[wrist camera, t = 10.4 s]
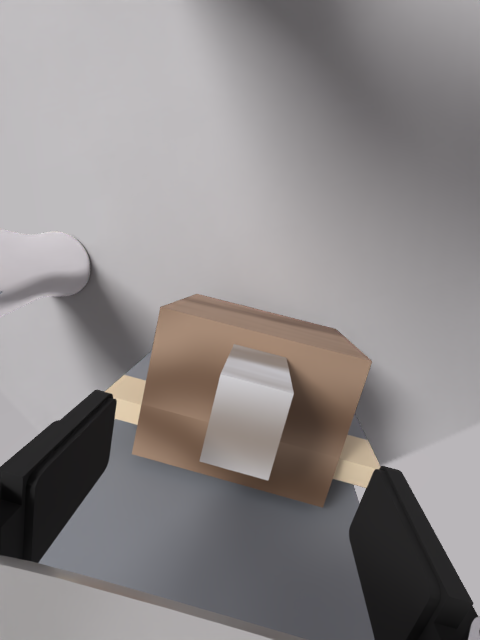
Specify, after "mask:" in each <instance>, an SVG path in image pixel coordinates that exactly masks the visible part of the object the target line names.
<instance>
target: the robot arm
mask: <svg viewBox="0 0 480 640" xmlns="http://www.w3.org/2000/svg"><path fill="white" fill-rule="evenodd" d="M116 404H117V400H116V399H113V394H111V393H107V392H104V391H100V390H95V391H94V392H92V393H91V394H90V395H89V396H88V397H87V398H85V399H84V400H83V401H82V402H81V403H80V404H78V405H77V406H76V407H75V408H74V409H73V410H71V411H70V412H69V413H68V414H67V415H66V416H64V417H63V418H62V419H61V420H60V421H59V420H58V421H55V422H53V423H52V424H51V425H49V426H48V427H47V428H46V429H45V430H43V431H42V432H41V433H40V434H39V435H38V436H36V437H35V438H34V439H33V440H32V441H31V442H30V443H28V444H27V445H26V446H25V447H23V448H22V449H21V450H20V451H19V452H17V453H16V454H15V455H14V456H13V457H11V459H9V460H8V461H7V462H5V463H4V464H3V465H2V466H1V467H0V640H306V639H303V638H300V637H296V636H293V635H290V634H286V633H283V632H280V631H276V630H273V629H269V628H266V627H263V626H259V625H256V624H252V623H249V622H245V621H242V620H239V619H235V618H232V617H228V616H225V615H222V614H218V613H215V612H211V611H208V610H204V609H201V608H197V607H194V606H191V605H187V604H184V603H180V602H177V601H173V600H170V599H166V598H163V597H159V596H156V595H152V594H149V593H145V592H142V591H138V590H135V589H131V588H128V587H124V586H121V585H117V584H113V583H110V582H106V581H103V580H99V579H96V578H92V577H89V576H85V575H81V574H78V573H74V572H70V571H66V570H62V569H59V568H55V567H51V566H47V565H43V564H39V561H40V560H41V558H42V557H43V556H44V554H45V553H46V552H47V550H48V549H49V547H50V546H51V545H52V543H53V542H54V540H55V539H56V538H57V536H58V535H59V534H60V532H61V531H62V529H63V528H64V527H65V525H66V524H67V522H68V521H69V520H70V518H71V517H72V515H73V514H74V513H75V511H76V510H77V509H78V507H79V506H80V504H81V503H82V502H83V500H84V499H85V497H86V496H87V495H88V493H89V492H90V491H91V489H92V488H93V486H94V485H95V484H96V482H97V481H98V479H99V478H100V477H101V475H102V474H103V472H104V471H105V469H106V467H107V465H108V462H109V457H110V449H111V442H112V434H113V427H114V419H115V412H116ZM349 540H350V544H351V548H352V552H353V555H354V559H355V563H356V567H357V571H358V575H359V579H360V583H361V587H362V591H363V595H364V599H365V603H366V607H367V611H368V615H369V619H370V623H371V627H372V631H373V635H374V639H375V640H480V617H478V615H477V614H476V612H475V610H474V608H473V606H472V605H473V602H472V600H471V598H470V596H469V594H468V593H467V591H466V589H465V587H464V585H463V583H462V582H461V580H460V578H459V576H458V574H457V572H456V571H455V569H454V567H453V565H452V563H451V562H450V560H449V558H448V556H447V554H446V552H445V551H444V549H443V547H442V545H441V543H440V541H439V540H438V538H437V536H436V534H435V533H434V530H433V529H432V527H431V525H430V523H429V521H428V520H427V518H426V516H425V514H424V512H423V510H422V509H421V507H420V505H419V503H418V501H417V499H416V498H415V496H414V494H413V492H412V490H411V488H410V487H409V485H408V483H407V481H406V479H405V477H404V476H403V474H402V472H401V471H399V470H396V469H392V468H388V467H385V466H381V467H380V468H379V469H375V470H374V472H373V474H372V476H371V479H370V481H369V483H368V486H367V488H366V490H365V493H364V495H363V497H362V500H361V502H360V504H359V506H358V509H357V511H356V513H355V516H354V518H353V520H352V523H351V525H350V528H349Z"/></svg>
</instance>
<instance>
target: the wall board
mask: <svg viewBox="0 0 480 640" xmlns="http://www.w3.org/2000/svg"><path fill="white" fill-rule="evenodd" d="M151 353H152V351H151V352H150V353H149V354H147V355H146V356H145V357H144V358H143V359H142V360H140V361H139V362H138V363H137V364H136V365H135V366H134V367H132V368H131V369H130V370H129V371H128V372H127V373H126V374H124V375H123V376H122V377H121V378H120V379H119V380H118V381H116V382H115V383H114V384H113V385H112V386H111V387H109V388H108V389H107V390H106V391H105V392H107V393H111V394H113V399H116V400H117V404H116V412H115V420H114V427H113V434H112V442H111V449H110V457H109V462H108V465H107V467H106V469H105V471H104V472H103V474H102V475H101V477H100V478H99V479H98V481H97V482H96V484H95V485H94V486H93V488H92V489H91V491H90V492H89V493H88V495H87V496H86V497H85V499H84V500H83V502H82V503H81V504H80V506H79V507H78V509H77V510H76V511H75V513H74V514H73V515H72V517H71V518H70V520H69V521H68V522H67V524H66V525H65V527H64V528H63V529H62V531H61V532H60V534H59V535H58V536H57V538H56V539H55V540H54V542H53V543H52V545H51V546H50V547H49V549H48V550H47V552H46V553H45V554H44V556H43V557H42V558H41V560H40V561H39V564H43V565H47V566H51V567H55V568H59V569H62V570H66V571H70V572H74V573H78V574H81V575H85V576H89V577H92V578H96V579H99V580H103V581H106V582H110V583H113V584H117V585H121V586H124V587H128V588H131V589H135V590H138V591H142V592H145V593H149V594H152V595H156V596H159V597H163V598H166V599H170V600H173V601H177V602H180V603H184V604H187V605H191V606H194V607H197V608H201V609H204V610H208V611H211V612H215V613H218V614H222V615H225V616H228V617H232V618H235V619H239V620H242V621H245V622H249V623H252V624H256V625H259V626H263V627H266V628H269V629H273V630H276V631H280V632H283V633H286V634H290V635H293V636H296V637H300V638H303V639H306V640H375V639H374V635H373V631H372V627H371V623H370V619H369V615H368V611H367V607H366V603H365V599H364V595H363V591H362V587H361V583H360V579H359V575H358V571H357V567H356V563H355V559H354V555H353V552H352V548H351V544H350V540H349V528H350V525H351V523H352V520H353V518H354V516H355V513H356V511H357V509H358V506H359V501H358V498H357V495H356V492H355V489H354V485H357V486H361V487H364V488H367V486H368V483H369V481H370V479H371V476H372V474H373V472H374V470H375V469H379V468H380V465H379V463H378V460H377V458H376V456H375V454H374V452H373V450H372V448H371V446H370V444H369V442H368V440H367V437H366V435H365V433H364V431H363V429H362V427H361V425H360V423H359V421H358V419H357V417H356V414H354V417H353V420H352V423H351V426H350V429H349V432H348V435H347V438H346V441H345V444H344V446H343V449H342V452H341V455H340V458H339V461H338V464H337V467H336V470H335V473H334V476H333V479H332V482H331V485H330V488H329V491H328V494H327V497H326V500H325V503H324V506H323V508H322V507H318V506H315V505H311V504H308V503H304V502H301V501H297V500H293V499H290V498H286V497H283V496H279V495H276V494H272V493H269V492H265V491H261V490H258V489H254V488H251V487H247V486H244V485H240V484H237V483H233V482H229V481H226V480H222V479H219V478H215V477H212V476H208V475H205V474H201V473H197V472H194V471H190V470H187V469H183V468H180V467H176V466H172V465H169V464H165V463H162V462H158V461H155V460H151V459H148V458H144V457H140V456H137V455H133V454H132V450H133V445H134V440H135V435H136V430H137V424H138V419H139V414H140V409H141V404H142V399H143V394H144V389H145V384H146V378H147V373H148V368H149V363H150V358H151ZM353 484H354V485H353Z"/></svg>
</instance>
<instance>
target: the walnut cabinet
mask: <svg viewBox="0 0 480 640" xmlns="http://www.w3.org/2000/svg"><path fill="white" fill-rule="evenodd" d="M371 363H372V361H371V360H370V359H369V358H368V357H367V356H366V355H365V354H363V353H362V352H361V351H360V350H359V349H358V348H357V347H356V346H354V345H353V344H352V343H351V342H350V341H349V340H348V339H347V338H345V337H344V336H343V335H342V334H341V333H340V332H339V331H338V330H336V329H334V328H330V327H326V326H322V325H318V324H314V323H310V322H306V321H302V320H298V319H294V318H290V317H286V316H282V315H278V314H274V313H270V312H266V311H262V310H258V309H254V308H251V307H247V306H243V305H239V304H235V303H231V302H227V301H223V300H219V299H215V298H211V297H207V296H203V295H199V294H195V295H193V296H190V297H187V298H184V299H181V300H179V301H176V302H173V303H170V304H167V305H165V306H162V307H160V312H159V317H158V322H157V327H156V332H155V338H154V343H153V348H152V353H151V358H150V363H149V368H148V373H147V378H146V384H145V389H144V394H143V399H142V404H141V409H140V414H139V419H138V424H137V430H136V435H135V440H134V445H133V450H132V454H133V455H137V456H140V457H144V458H148V459H151V460H155V461H158V462H162V463H165V464H169V465H172V466H176V467H180V468H183V469H187V470H190V471H194V472H197V473H201V474H205V475H208V476H212V477H215V478H219V479H222V480H226V481H229V482H233V483H237V484H240V485H244V486H247V487H251V488H254V489H258V490H261V491H265V492H269V493H272V494H276V495H279V496H283V497H286V498H290V499H293V500H297V501H301V502H304V503H308V504H311V505H315V506H318V507H322V508H323V506H324V503H325V500H326V497H327V494H328V491H329V488H330V485H331V482H332V479H333V476H334V473H335V470H336V467H337V464H338V461H339V458H340V455H341V452H342V449H343V446H344V444H345V441H346V438H347V435H348V432H349V429H350V426H351V423H352V420H353V417H354V414H355V411H356V408H357V405H358V402H359V399H360V396H361V393H362V390H363V387H364V384H365V381H366V378H367V375H368V372H369V369H370V366H371Z"/></svg>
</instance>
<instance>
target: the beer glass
mask: <svg viewBox="0 0 480 640" xmlns="http://www.w3.org/2000/svg"><path fill="white" fill-rule="evenodd" d="M90 269H91V268H90V260H89V257H88V254H87V252H86V250H85V248H84V247H83V246H82V244H81V243H80V242H79V241H78V240H77V239H75V238H74V237H73V236H71V235H69V234H67V233H64V232H60V231H49V232H43V233H39V234H33V235H28V234H21V233H17V232H13V231H9V230H6V229H2V228H0V317H2V316H4V315H7V314H9V313H11V312H13V311H15V310H17V309H19V308H21V307H23V306H25V305H27V304H29V303H31V302H33V301H35V300H37V299H39V298H43V297H47V296H70V295H73V294H76V293H78V292H79V291H80V290H82V289H83V288H84V286H85V285H86V284H87V282H88V279H89V276H90Z"/></svg>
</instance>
